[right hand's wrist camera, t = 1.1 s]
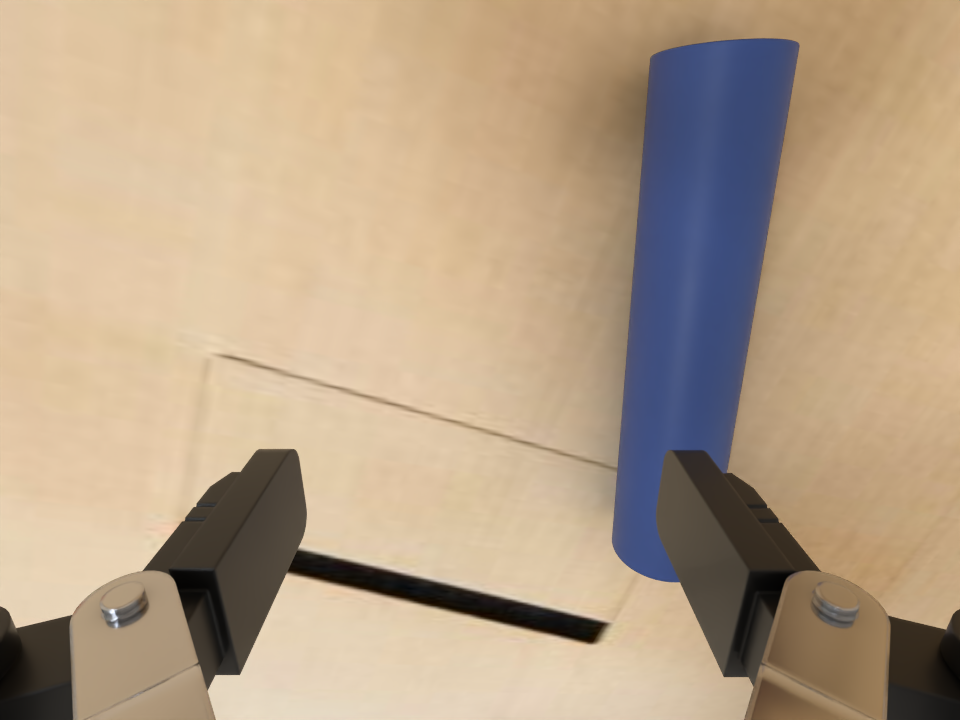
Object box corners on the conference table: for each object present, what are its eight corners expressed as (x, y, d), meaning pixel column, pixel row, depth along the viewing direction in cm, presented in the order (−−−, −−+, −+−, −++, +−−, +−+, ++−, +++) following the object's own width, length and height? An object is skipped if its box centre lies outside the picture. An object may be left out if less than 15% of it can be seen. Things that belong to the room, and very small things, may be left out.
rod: (634, 64, 26) (676, 40, 21) (756, 60, 26) (832, 35, 21) (602, 517, 37) (625, 584, 31) (690, 515, 37) (728, 581, 31)
